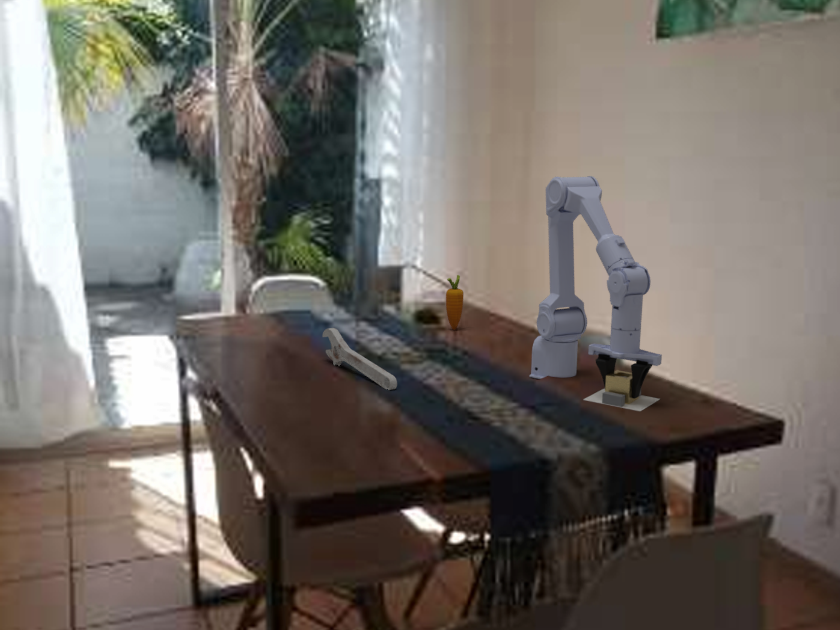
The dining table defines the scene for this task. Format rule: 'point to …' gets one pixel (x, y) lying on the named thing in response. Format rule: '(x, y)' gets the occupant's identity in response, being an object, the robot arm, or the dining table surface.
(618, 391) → the brass collar
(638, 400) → the block
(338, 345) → the wrench
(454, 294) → the carrot
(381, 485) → the dining table surface
